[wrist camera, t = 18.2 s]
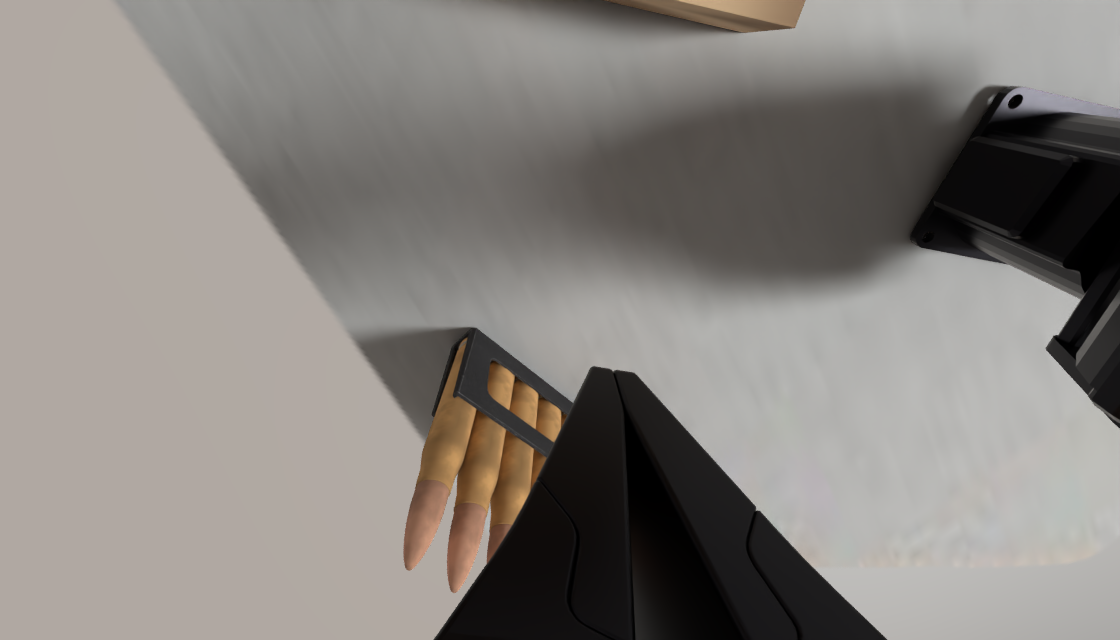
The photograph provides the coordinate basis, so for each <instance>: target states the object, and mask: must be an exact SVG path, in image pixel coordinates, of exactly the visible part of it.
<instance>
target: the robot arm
mask: <svg viewBox="0 0 1120 640" xmlns="http://www.w3.org/2000/svg"><path fill="white" fill-rule="evenodd" d="M1013 96H1014V100H1013V102H1012V103H1011V104H1010V105H1009V106H1008V102H1009V100H1010V99H1011V98H1012V97H1013ZM927 232H928V235H927V236H926V237H925V238H923V239H922V237H923V236H924V234H925V233H927ZM910 240H911V241H912V243H914V244H915V245H917V246H919V247H921V248H926V249H932V250H937V251H942V252H947V253H952V254H957V255H962V256H968V257H973V258H978V259H983V260H988V261H993V262H999V263H1004V264H1009V265H1011V266H1013V267H1015V268H1017V269H1019V270H1021V271H1023V272H1025V273H1027V274H1030V275H1032V276H1034V277H1036V278H1038V279H1040V280H1042V281H1044V282H1046V283H1048V284H1050V285H1052V286H1054V287H1056V288H1058V289H1060V290H1062V291H1064V292H1067V293H1069V294H1071V295H1073V296H1075V297H1077V298H1079V299H1081V300H1080V302H1079V304H1078V305H1077V307H1076V308H1075V310H1074V311H1073V313H1072V314H1071V316H1070V318H1069V319H1068V321H1067V322H1066V324H1065V325H1064V327H1063V329H1062V330H1061V332H1060V333H1059V335H1055V336H1053V338H1052V339H1051V341H1050V342H1049V344H1048V346H1047V347H1046V350H1047V351H1048V352H1049V353H1050V355H1051V356H1052V357H1053V358H1054V359H1055V360H1056V361H1057V362H1058V363H1059V364H1060V365H1061V366H1062V368H1063V369H1064V370H1065V371H1066V372H1067V373H1068V374H1069V375H1070V376H1071V377H1072V378H1073V380H1074V381H1075V382H1076V383H1077V384H1078V385H1079V386H1080V387H1081V388H1082V389H1083V390H1084V391H1085V393H1086V394H1087V395H1088V397H1089V398H1090V400H1091V401H1092V402H1093V404H1094V405H1095V406H1096V407H1097V408H1099V409H1100V410H1101V411H1103V412H1104V413H1105V414H1106V415H1107V416H1108V418H1109V419H1110V420H1111V421H1112V422H1113V423H1114V424H1115V425H1117V426H1118V427H1119V428H1120V109H1117V108H1113V107H1109V106H1104V105H1100V104H1096V103H1091V102H1087V101H1083V100H1078V99H1074V98H1070V97H1065V96H1061V95H1057V94H1053V93H1048V92H1044V91H1040V90H1035V89H1031V88H1027V87H1018V86H1010V87H1008V88H1005V89H1004V90H1002V91H1001V92H1000V93H999V94H998V95H997V96H996V97H995V99H994V100H993V102H992V104H991V105H990V107H989V108H988V110H987V112H986V113H985V115H984V116H983V118H982V120H981V121H980V123H979V125H978V126H977V128H976V129H975V131H974V133H973V134H972V136H971V137H970V139H969V141H968V142H967V144H966V146H965V147H964V149H963V150H962V152H961V154H960V155H959V157H958V158H957V160H956V162H955V163H954V165H953V167H952V168H951V170H950V171H949V173H948V175H947V176H946V178H945V179H944V181H943V183H942V184H941V186H940V188H939V189H938V191H937V192H936V194H935V196H934V197H933V199H932V200H931V202H930V204H929V205H928V207H927V209H926V210H925V212H924V213H923V215H922V217H921V218H920V220H919V221H918V223H917V225H916V226H915V228H914V230H913V231H912V233H911V236H910ZM755 511H756V506H755V505H754V504H753V503H752V502H751V501H750V500H749V498H748V497H747V496H746V495H745V494H744V493H743V492H742V491H741V490H740V489H739V487H738V486H737V485H736V484H735V483H734V482H733V481H732V480H731V479H730V477H729V476H728V475H727V474H726V473H725V472H724V471H723V470H722V469H721V468H720V466H719V465H718V464H717V463H716V462H715V461H714V460H713V459H712V458H711V456H710V455H709V454H708V453H707V452H706V451H705V450H704V449H703V448H702V447H701V445H700V444H699V443H698V442H697V441H696V440H695V439H694V438H693V437H692V435H691V434H690V433H689V432H688V431H687V430H686V429H685V428H684V427H683V426H682V424H681V423H680V422H679V421H678V420H677V419H676V418H675V417H674V416H673V414H672V413H671V412H670V411H669V410H668V409H667V408H666V407H665V406H664V405H663V403H662V402H661V401H660V400H659V399H658V398H657V397H656V396H655V395H654V394H653V392H652V391H651V390H650V389H649V388H648V387H647V386H646V385H645V384H644V382H643V381H642V380H641V379H640V378H639V377H638V376H637V375H636V374H635V373H633V372H627V371H620V370H615V371H612V370H611V369H608V368H601V367H595V366H593V367H591V368H590V370H589V372H588V374H587V376H586V378H585V380H584V382H583V384H582V386H581V388H580V390H579V393H578V395H577V397H576V399H575V401H574V403H573V405H572V407H571V409H570V411H569V413H568V415H567V417H566V419H565V421H564V423H563V425H562V427H561V429H560V432H559V434H558V436H557V438H556V440H555V442H554V444H553V446H552V448H551V450H550V452H549V454H548V456H547V458H546V460H545V462H544V464H543V466H542V468H541V471H540V473H539V475H538V477H537V479H536V482H534V484H533V486H532V488H531V490H530V492H529V495H528V497H527V499H526V501H525V502H524V504H523V506H522V508H521V510H520V512H519V514H518V515H517V517H516V519H515V521H514V523H513V525H512V526H511V528H510V529H509V531H508V532H507V534H506V536H505V537H504V539H503V540H502V542H501V543H500V545H499V546H498V548H497V550H496V551H495V553H494V554H493V556H492V557H491V559H490V560H489V562H488V563H487V565H486V566H485V567H484V569H483V570H482V572H481V573H480V574H479V576H478V577H477V579H476V580H475V582H474V583H473V584H472V586H471V587H470V589H469V590H468V592H467V593H466V594H465V596H464V597H463V599H462V601H461V602H460V603H459V604H458V606H457V607H456V609H455V610H454V612H453V613H452V614H451V616H450V617H449V619H448V620H447V622H446V623H445V624H444V626H443V627H442V629H441V630H440V632H439V633H438V634H437V636H436V637H435V638H434V640H887V639H886V638H885V637H884V636H883V635H882V634H881V633H880V632H879V631H878V630H877V629H876V628H875V627H873V625H871V624H870V623H869V622H868V621H867V620H866V619H865V618H864V617H863V616H862V615H861V614H860V613H859V612H858V611H857V610H856V609H855V608H854V607H853V606H852V605H851V604H850V603H849V602H847V601H846V600H845V599H844V598H843V597H842V596H841V595H840V594H839V593H838V592H837V591H836V590H835V589H834V588H833V587H832V586H831V585H830V584H829V583H828V582H827V581H826V580H825V579H824V578H823V577H822V576H821V575H820V574H819V573H818V572H817V571H816V570H815V569H814V568H813V567H812V566H811V565H810V564H809V563H808V562H807V561H806V560H805V559H804V558H803V557H802V556H801V555H800V554H799V553H798V551H797V550H796V549H795V548H794V547H793V546H792V545H791V544H790V543H789V542H788V541H787V540H786V539H785V538H784V537H783V536H782V534H781V533H780V532H779V531H778V530H777V529H776V528H775V527H774V526H773V525H772V524H771V523H770V521H769V520H768V519H767V518H766V517H765V516H764V515H763V514H762V513H761V512H760V511H756V512H755Z"/></svg>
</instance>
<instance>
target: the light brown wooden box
mask: <svg viewBox="0 0 1120 640" xmlns="http://www.w3.org/2000/svg"><path fill="white" fill-rule="evenodd" d="M603 1H608V2H612V3H617V4H621V5H625V6H630V7H634V8H638V9H643V10H647V11H651V12H656V13H660V14H664V15H669V16H673V17H677V18H682V19H686V20H691V21H695V22H699V23H704V24H708V25H712V26H717V27H721V28H725V29H730V30H734V31H738V32H743V33H747V32H758V31H768V30H779V29H790V28H795V26H796V24H797V21H798V19H799V16H800V13H801V11H802V8H803V6H804V3H805V0H603Z"/></svg>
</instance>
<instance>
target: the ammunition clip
mask: <svg viewBox="0 0 1120 640" xmlns="http://www.w3.org/2000/svg"><path fill="white" fill-rule="evenodd" d="M572 405H573V403H572V402H571V401H570V400H568V399H567V398H566V397H564V396H563V395H562V394H561V393H559V392H558V391H557V390H555V389H554V388H553V387H552V386H550V385H549V384H548V383H546V382H545V381H544V380H543V379H541V378H540V377H539V376H537V375H536V374H535V373H534V372H532V371H531V370H530V369H528V368H527V367H526V366H525V365H523V364H522V363H521V362H519V361H518V360H517V359H516V358H514V357H513V356H512V355H510V354H509V353H508V352H507V351H505V350H504V349H503V348H501V347H500V346H499V345H498V344H496V343H495V342H494V341H492V340H491V339H490V338H489V337H487V336H486V335H485V334H483V333H482V332H481V331H480V330H478V329H477V328H472V329H470V330H469V331H468V332H467V333H466V334H465V335H464V336H463V337H462V338H461V339H460V340H459V341H458V342H457V343H456V344H455V345H453V346H452V348H451V352H450V355H449V359H448V362H447V365H446V369H445V372H444V375H443V379H442V382H441V385H440V389H439V392H438V395H437V399H436V402H435V405H434V409H433V412H432V416H433V417H434V420H433V423H432V425H431V428H430V431H429V434H428V437H427V440H426V442H425V445H424V448H423V452H422V459H421V469H420V473H419V476H418V479H417V483H416V487H415V492H414V495H413V498H412V501H411V505H410V509H409V514H408V518H407V523H406V529H405V537H404V562H405V568H406V569H407V570H412V569H413V568H414V567H415V566H416V565H417V564H418V562H419V561H420V560H421V559H422V557H423V556H424V554H425V552H426V551H427V549H428V547H429V545H430V544H431V542H432V540H433V538H434V536H435V533H436V531H437V529H438V526H439V524H440V521H441V519H442V516H443V513H444V510H445V506H446V503H447V499H448V496H449V495H450V492H451V489H452V486H453V483H454V480H455V477H456V475H457V474H458V477H457V496H456V502H455V507H454V516H453V520H452V525H451V529H450V535H449V543H448V554H447V574H448V581H449V586H450V590H451V591H452V592H453V593H456V592H457V591H458V590H459V589H460V588H461V586H462V584H463V583H464V582H465V580H466V578H467V576H468V574H469V572H470V569H471V567H472V565H473V562H474V560H475V557H476V554H477V551H478V548H479V544H480V541H481V537H482V534H483V529H484V524H485V519H486V516H487V513H488V508H489V504H490V503H491V521H490V530H489V532H490V536H489V543H488V550H487V551H488V552H487V563H488V562H489V560H490V559H491V557H492V556H493V554H494V553H495V551H496V550H497V548H498V546H499V545H500V543H501V542H502V540H503V539H504V537H505V536H506V534H507V532H508V531H509V529H510V528H511V526H512V525H513V523H514V521H515V519H516V517H517V515H518V514H519V512H520V510H521V508H522V506H523V504H524V502H525V501H526V499H527V497H528V495H529V492H530V490H531V488H532V486H533V484H534V482H536V479H537V477H538V475H539V473H540V471H541V468H542V466H543V464H544V462H545V460H546V458H547V456H548V454H549V452H550V450H551V448H552V446H553V444H554V442H555V440H556V438H557V436H558V434H559V432H560V429H561V427H562V425H563V423H564V421H565V419H566V417H567V415H568V413H569V411H570V409H571V407H572Z"/></svg>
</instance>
